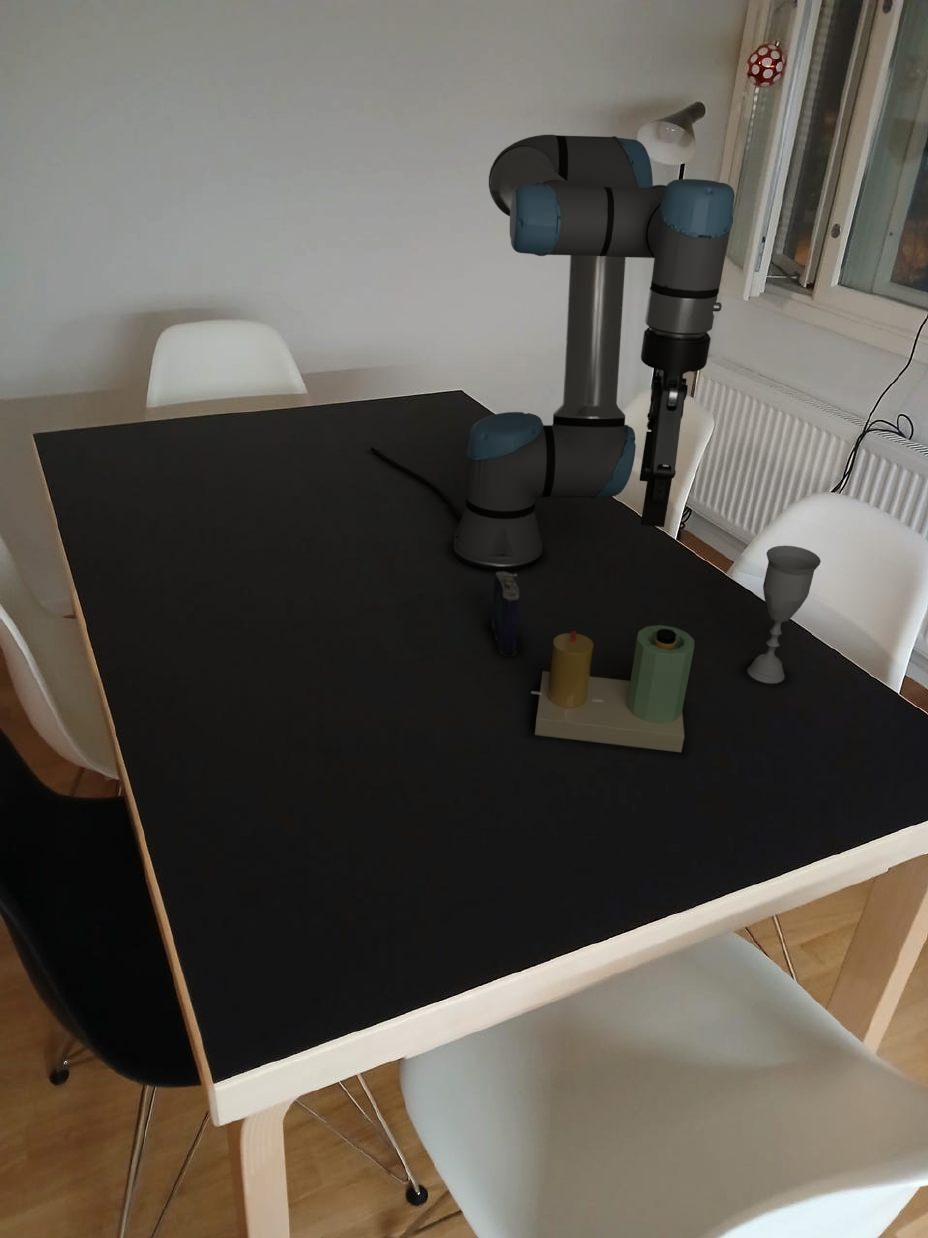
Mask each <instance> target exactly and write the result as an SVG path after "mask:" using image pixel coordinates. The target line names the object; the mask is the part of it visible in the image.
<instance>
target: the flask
mask: <svg viewBox="0 0 928 1238" xmlns="http://www.w3.org/2000/svg"><path fill="white" fill-rule="evenodd" d="M514 577H515V578H516V577H518V573H516V572H514V573H511V572H509V571H496V572H494V581H493V585H494V586H493V604H492V615H491V616H492V617H491V631H493V632H494V638H495V640H496V641H498V642H497V645H498V646H499V647H498V649H499V653H500V654H501V655H504V656H505V657H512V656H515V655H516V654H517V652H518V632H519V631H518V630H519V615H520V614H519V613H520V603H521V602H520V601H521V591H520V588H519V585H518V583H517V581H516V579H515V578H514Z"/></svg>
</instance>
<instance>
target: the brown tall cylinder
mask: <svg viewBox="0 0 928 1238" xmlns="http://www.w3.org/2000/svg"><path fill="white" fill-rule="evenodd" d="M654 646H656V647H658V648H662V649H669V650H671V649H675V647H676V633H675V632H674V631H672V630H669V629H660V630H658V631H657V635H656V637H655V640H654Z"/></svg>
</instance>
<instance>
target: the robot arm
mask: <svg viewBox="0 0 928 1238" xmlns="http://www.w3.org/2000/svg"><path fill="white" fill-rule="evenodd" d="M653 179H654V178H653V169H652V162H651V158H650V155H649V153H648V151H647V148H646V147H645V145H644V144H643V143H642V142H641V141H639V140H638V139H632V138H625V137H624V138H623V137H619V136H616V135H612V136H598V135H597V136H593V135H592V136H591V135H562V134H561V135H556V134H540V135H533V136H529V137H525V138H523V139H520V140H518V141H516V142H513V143H512V144H510V145H508V146H507V147H505V148H504V149H503V150H501V151H500V152H499V154H497V156H496V158H495V159H494V161H493V163H492V165H491V166H490V170H489V174H488V190H489V193H490V197H491V198H492V201H493V202H494V204H495V205H496V207H497V208H498V209H499V210H500V211H501V212H502V213H503V214H504V215H506V216H507V217H509V238H510V245H511V247H512V249H513V250H514V251H515V252H516V253H519V254H525V255H526V254H527V255H535V256H537V257H545V256H569V273H568V274H569V275H568V293H567V294H568V295H567V314H566V336H565V337H566V338H565V356H564V357H565V358H564V380H563V396H562V397H563V399H562V403H561V404H560V406H559V407H558V408H557V409H555V411H554V412H553V415H552V424H544V423H543V420H542V418H541V417H540V416H538V415H537V414H534V413H530V412H526V413H524V412H523V411H507V412H500V413H499V412H498V413H495V414H491V415H488V416H486V417H483V418H481V419H480V420H478V421H476V422H475V423H474V424H473V425H472V427H471V428H470V431H469V437H468V445H467V449H466V457H467V471H466V488H465V506H464V510H463V513H462V515H461V514H460V513H459V512H458V511H457V509H456V508H455V507H454V505H453V504H452V502H451V501H450V499H448V497H447V496H446V495H445V494H444V493H443V492H442V491H441V490H440V489H439V488H438V487H437V486H436V485H435V484H433V483H432V482H430V481H429V480H427V479H425V478H424V477H422V476H420V475H419V474H417V473H416V472H414V471H412V470H411V469H408V468H407V467H406V466H403V465H401V464H399V463H397V462H395V461H394V460H392V459H390V458H388V456H385V455H384V454H383V453H381V452H380V451H378V450H377V449H376V448H374V447H371V448H370V451H371V452H373V453H374V454H375V455H377V456H378V457H380V459H382V460H384V461H385V462H387V463H388V464H389V465H392V466H393V467H396V468H397V469H399V470H401V471H403V472H404V473H406V474H407V475H410V476H412V477H414V478H415V479H417V480H419V481H420V482H422V483H424V484H425V485H427V486H428V487H429V488H430V489H432V490H433V492H435V493H437V495H438V496H439V497H440V498H441V499H442V500H443V501H444V502H445V504H447V506H448V508H449V509H450V510H451V512H452V514H453V515H454V516H455V517H456V518H457V519H458V520H460V521H459V523H458V525H457V529H456V531H455V533H454V536H453V540H452V552H453V555H454V556H455V557H456V558H457V560H458V561H460V562H462V563H464V564H466V565H468V566H470V567H473V568H476V569H481V570H484V571H491V572H492V571H494V572H500V571H505V572H512V571H519V570H523V569H527V568H530V567H533V565H536V564H537V563H539V561H540V560H541V559H542V557H543V547H544V546H543V539H542V536H541V534H540V530H539V525H538V520H537V516H536V503H537V498H590V499H591V500H594V499H597V498H613V497H616V496H618V495H619V494H621V493H622V492H623V491H624V489H625V488H626V486H627V485H628V482H629V480H630V478H631V475H632V471H633V467H634V463H635V458H636V457H635V456H636V448H637V445H636V433H635V430H634V428H633V427H631V426H629V425H628V424H626V414H625V413H624V412H623V411H622V409H621V408H620V407H619V406H618V391H619V390H618V387H619V373H620V372H619V370H620V358H621V357H620V356H621V340H622V339H621V338H622V324H623V323H622V322H623V307H624V292H625V291H624V290H625V289H624V288H625V274H626V273H625V272H626V258H640V259H653V267H652V273H651V274H652V276H651V282H650V287H649V292H648V297H647V306H646V312H645V318H644V323H645V325H646V326H647V328H646V329H645V330H644V331H643V337H642V345H641V351H640V359H641V362H642V363H643V364H644V365H646V366H647V367H649V368H652V369H655V370H656V373H655V375H652V378H651V387H650V390H651V391H650V392H651V394H650V405H649V410H648V413H647V416H646V417H647V423H646V427H647V431H646V432H645V439H644V444H643V445H644V446H643V454H642V460H641V466H640V473H639V482H646V486H645V492H644V493H645V494H644V500H643V505H642V512H641V520H640V525H641V526H648V527H659V528H665V524H666V517H667V511H668V506H669V500H670V493H671V489H672V488H671V487H672V483H673V482H672V481H673V479H674V478H675V476H676V475H677V474H676V473H677V471H676V466H677V465H676V464H677V458H678V457H677V456H678V450H679V449H678V448H679V440H680V431H681V424H682V418H683V416H684V409H685V408H684V407H685V401H686V398H687V396H688V389H689V386H688V384H687V378H685V377H684V374H686V373H690V372H692V373H694V372H695V373H696V372H698V371H701V370H703V369H704V368H705V367H706V365H707V363H708V357H709V351H710V345H711V338H712V337H711V336H710V334H709V333H708V332H711V331H712V329H713V327H714V326H713V325H714V319H715V314H714V312H717V313H718V312H721V310H722V307H723V305H722V303H721V302H719V301H718V295H719V292H720V287H721V281H722V276H723V271H724V266H725V260H726V254H727V249H728V244H729V238H730V232H731V230H732V227H733V223H734V217H733V214H734V206H735V197H736V196H735V191H734V188H733V187H732V186H731V185H730V184H728V183H726V182H719V181H716V180H711V179H710V180H709V179H698V178H680V179H679V178H678V179H673V180H672V181H669V182H668V183H667V184H666V185H664V184H655V185H654V180H653Z"/></svg>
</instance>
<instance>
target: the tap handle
mask: <svg viewBox="0 0 928 1238" xmlns="http://www.w3.org/2000/svg"><path fill="white" fill-rule="evenodd" d="M593 654H594V642H593V640H592V639H590V638H589V637H588V636H586V635H584V634H581V633H577V631H575V630H571V632H566V633H560V634H558V635H556V636H555V637H554V638H553V641H552V647H551V657H550V667H549V672H550V675H549V685H548V698H549V700H550V701H551V702H552V703H554V704H556V705H558V706H561V707H566V708H574V707H579V706H581V705H583V704H584V703H585V702H586V700H587V693H588V685H589V677H591V669H592V661H593Z"/></svg>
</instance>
